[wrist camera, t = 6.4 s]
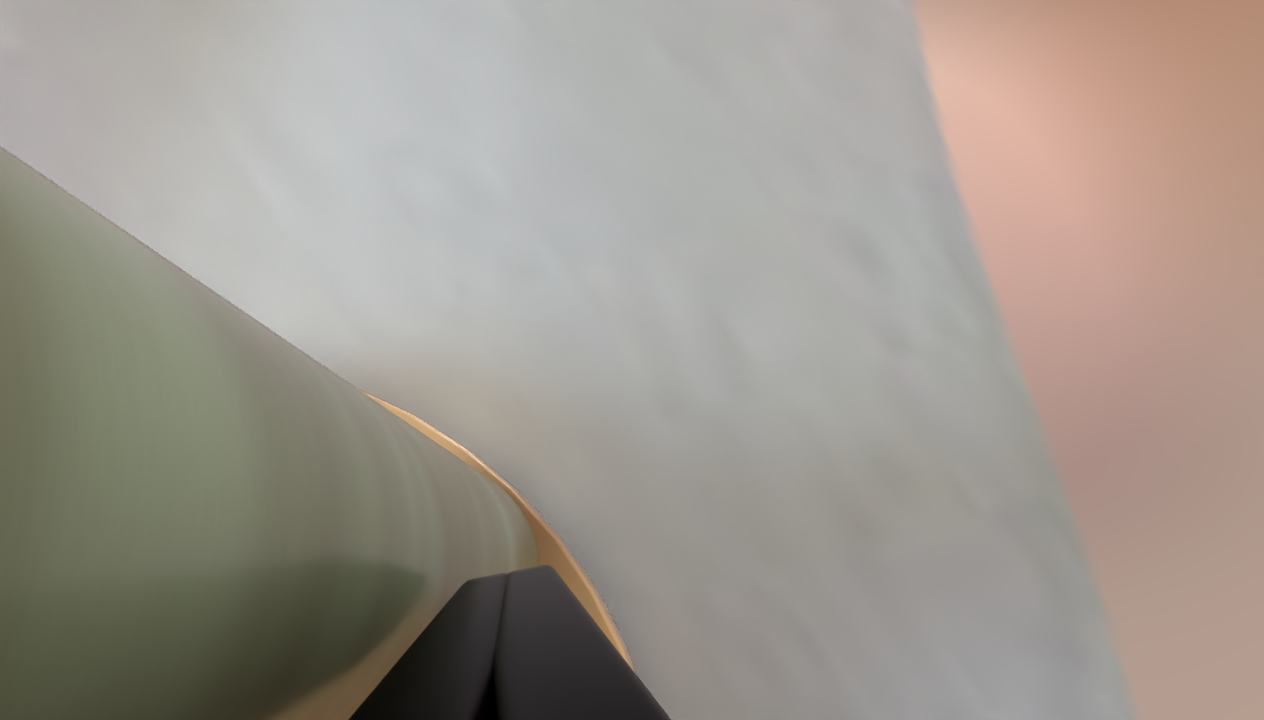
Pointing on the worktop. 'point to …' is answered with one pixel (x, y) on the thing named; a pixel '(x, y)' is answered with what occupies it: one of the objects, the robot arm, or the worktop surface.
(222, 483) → the wooden disc stand
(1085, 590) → the worktop surface
